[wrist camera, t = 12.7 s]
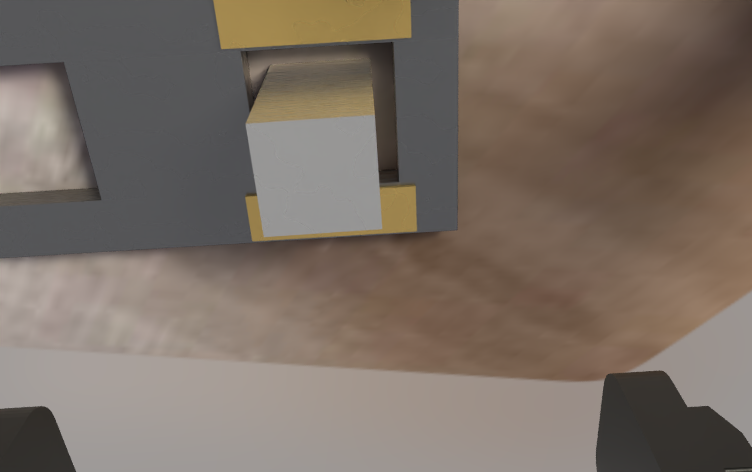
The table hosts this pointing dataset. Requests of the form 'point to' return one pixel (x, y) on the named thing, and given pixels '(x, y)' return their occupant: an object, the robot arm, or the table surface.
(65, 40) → the fixture plate
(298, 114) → the steel block
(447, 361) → the table surface
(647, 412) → the robot arm
